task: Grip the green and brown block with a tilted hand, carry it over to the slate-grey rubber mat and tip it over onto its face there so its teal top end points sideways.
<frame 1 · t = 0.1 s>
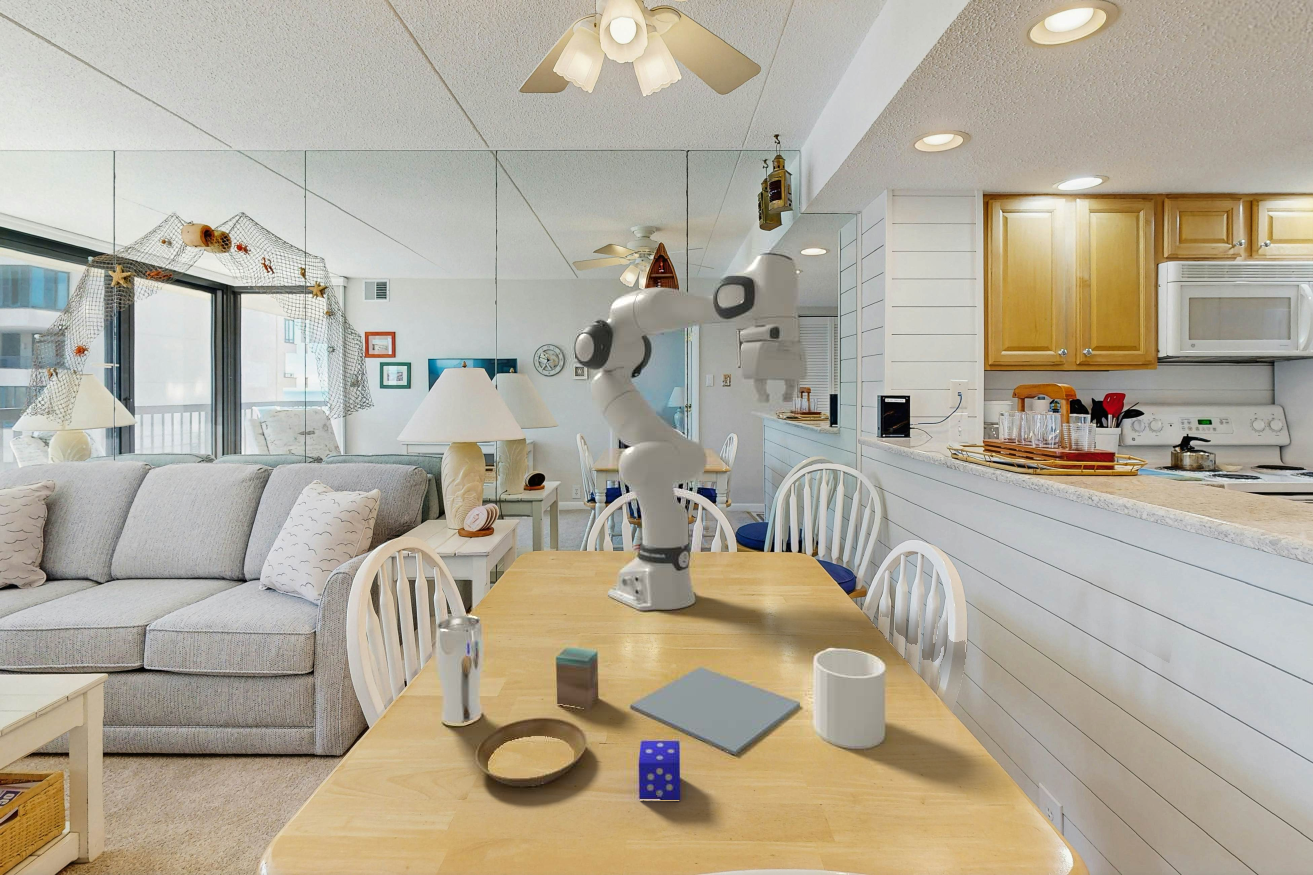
hand: (776, 402, 126), 48 cm above the table, tool pointing down, fingers open, 8 cm apart
mug: (844, 727, 92), on the table
die: (660, 790, 77), on the table
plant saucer: (532, 764, 84), on the table
slate mat: (715, 706, 98), on the table
silver metal tumbler: (462, 718, 96), on the table
green and brown block: (578, 701, 100), on the table
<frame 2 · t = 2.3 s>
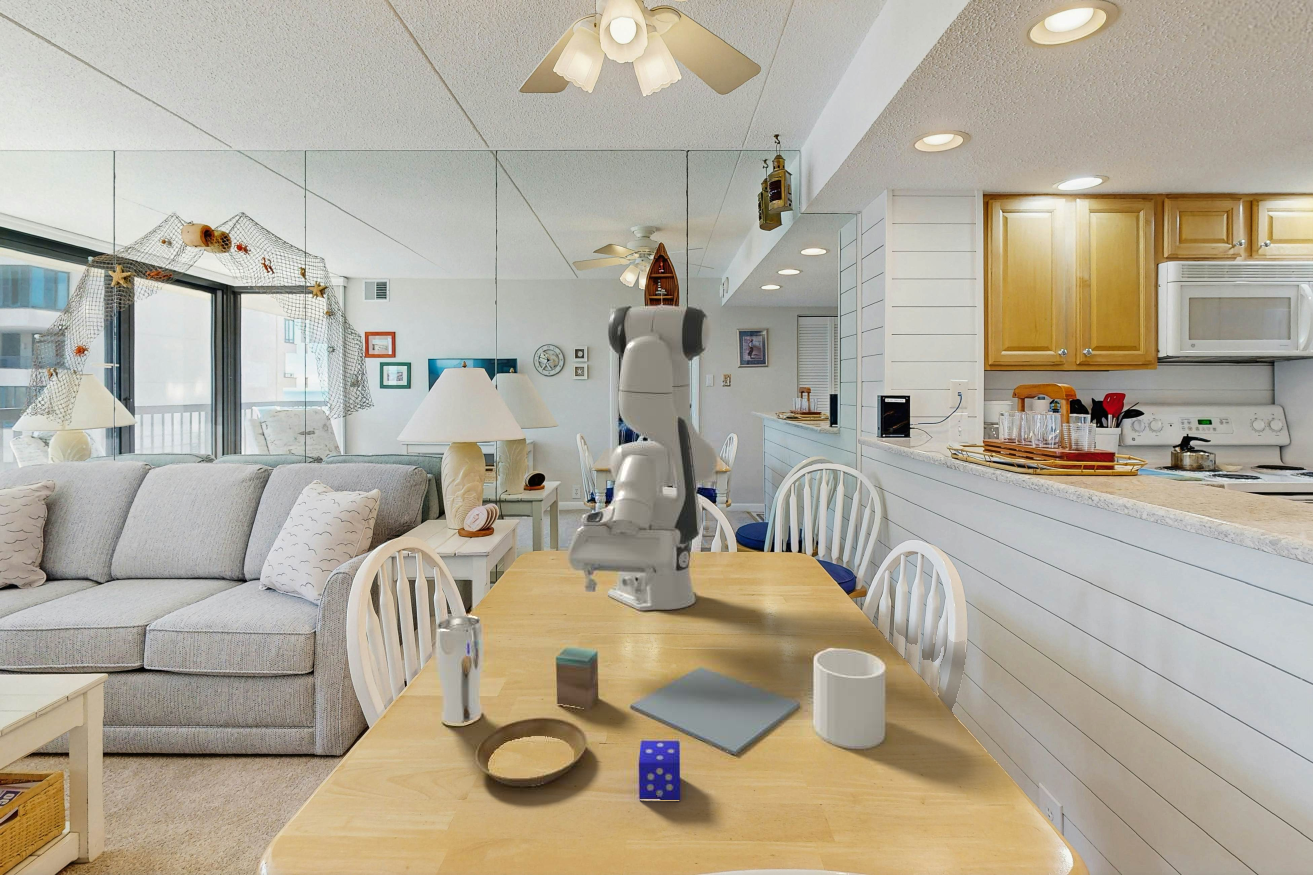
hand: (614, 591, 109), 15 cm above the table, tool tilted 45°, fingers open, 8 cm apart
nothing on the table moved.
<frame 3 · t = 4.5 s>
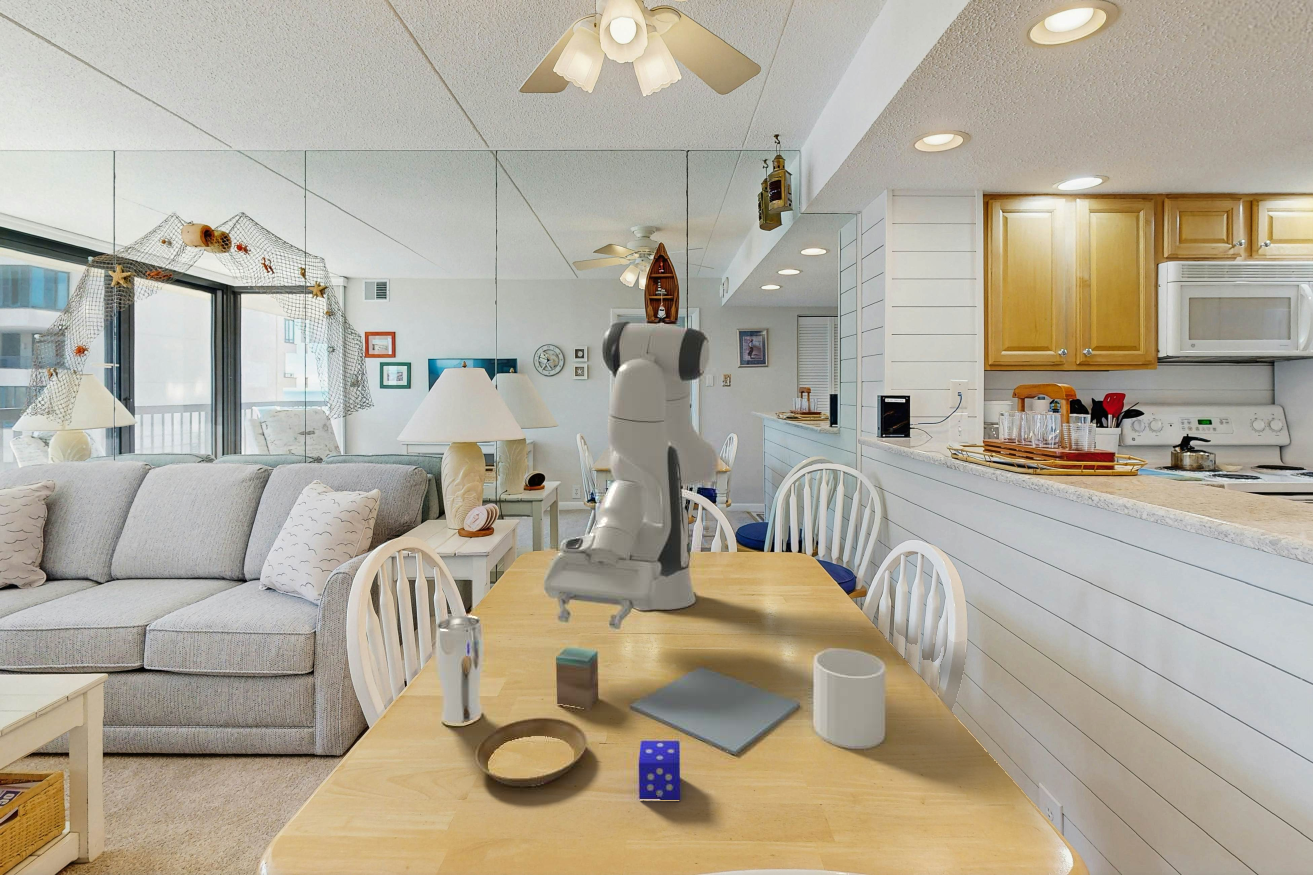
hand: (587, 623, 104), 11 cm above the table, tool tilted 45°, fingers open, 8 cm apart
nothing on the table moved.
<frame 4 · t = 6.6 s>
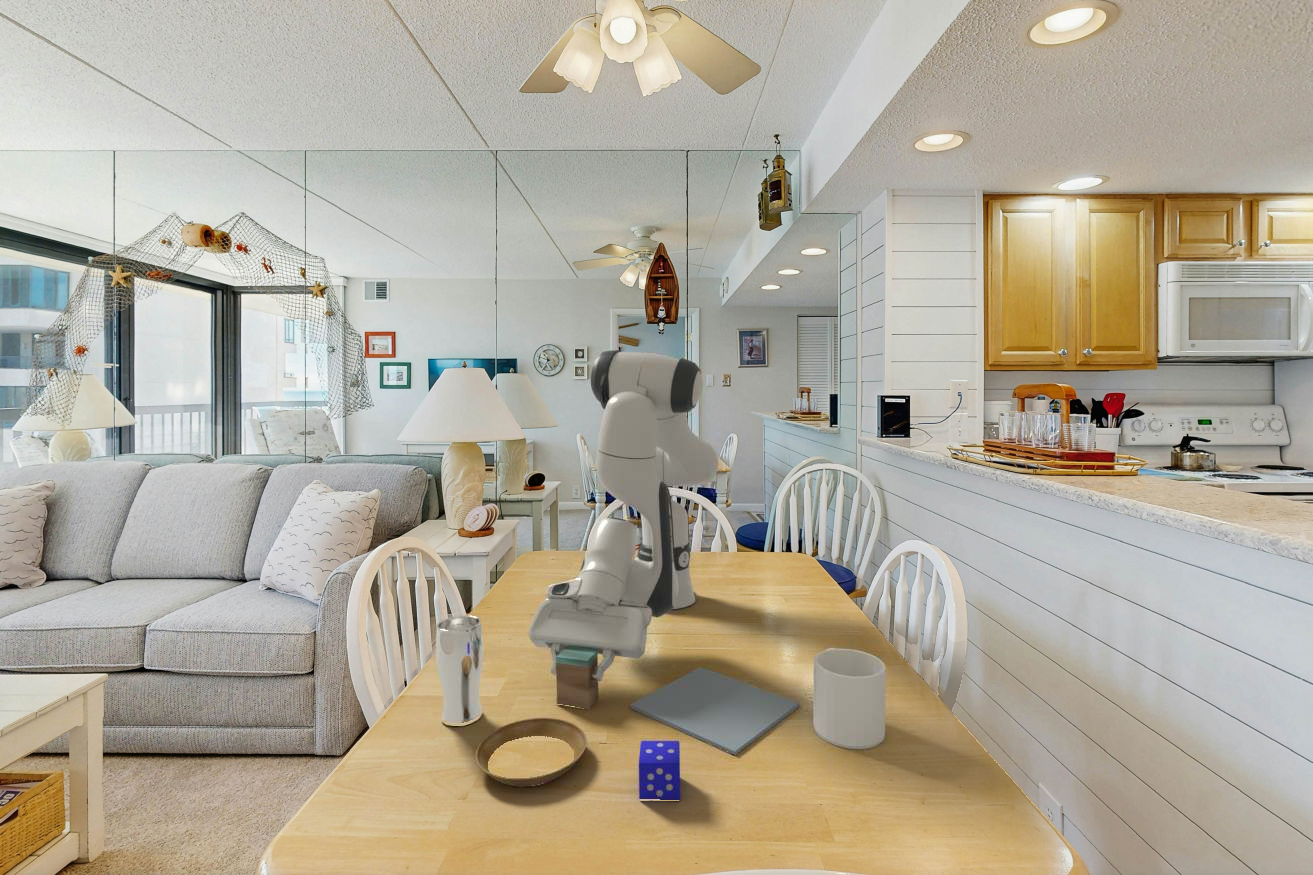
hand: (575, 676, 99), 4 cm above the table, tool tilted 45°, fingers closed on green and brown block, 5 cm apart
green and brown block: (578, 701, 100), on the table, touching gripper
everything else where it was.
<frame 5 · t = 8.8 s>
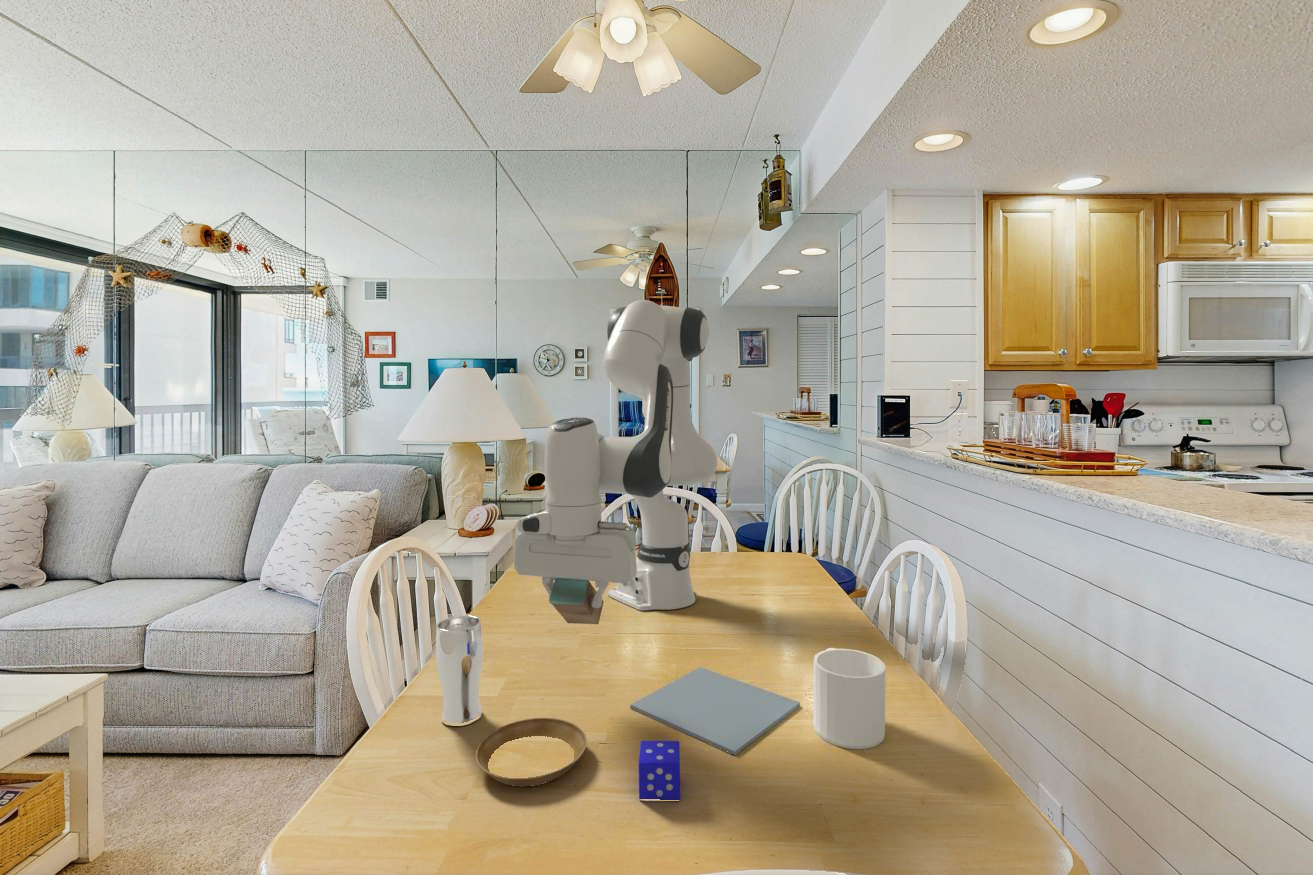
hand: (575, 604, 99), 16 cm above the table, tool pointing down, fingers closed on green and brown block, 6 cm apart
green and brown block: (585, 612, 102), point 14 cm above the table, tilted 45°, touching gripper
everything else where it was.
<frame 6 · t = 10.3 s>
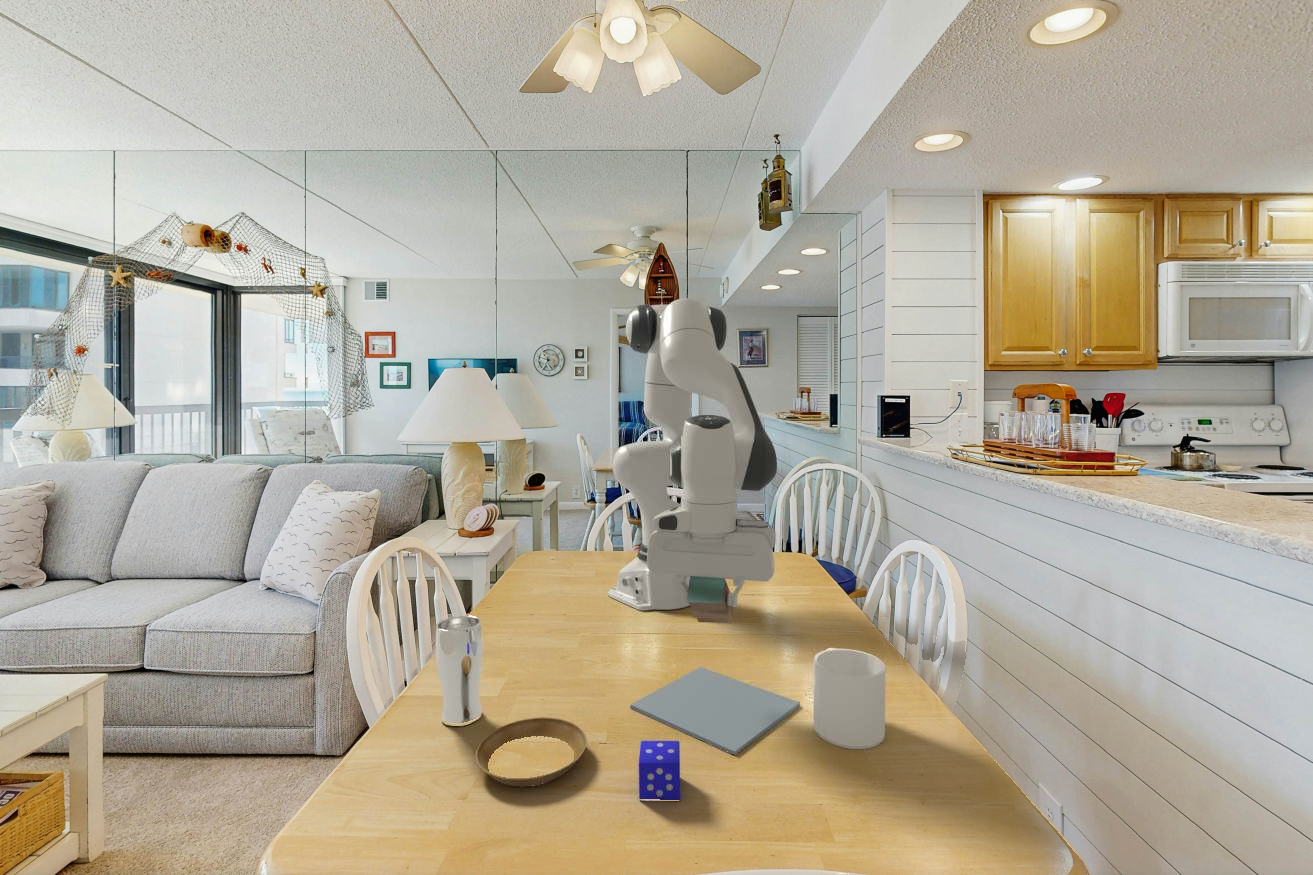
hand: (710, 603, 98), 16 cm above the table, tool pointing down, fingers closed on green and brown block, 6 cm apart
green and brown block: (716, 611, 102), point 14 cm above the table, tilted 45°, touching gripper
everything else where it was.
when the fingers open (7 cm above the table, at t = 12.7 s): green and brown block drops 2 cm and tips over, resting on slate mat.
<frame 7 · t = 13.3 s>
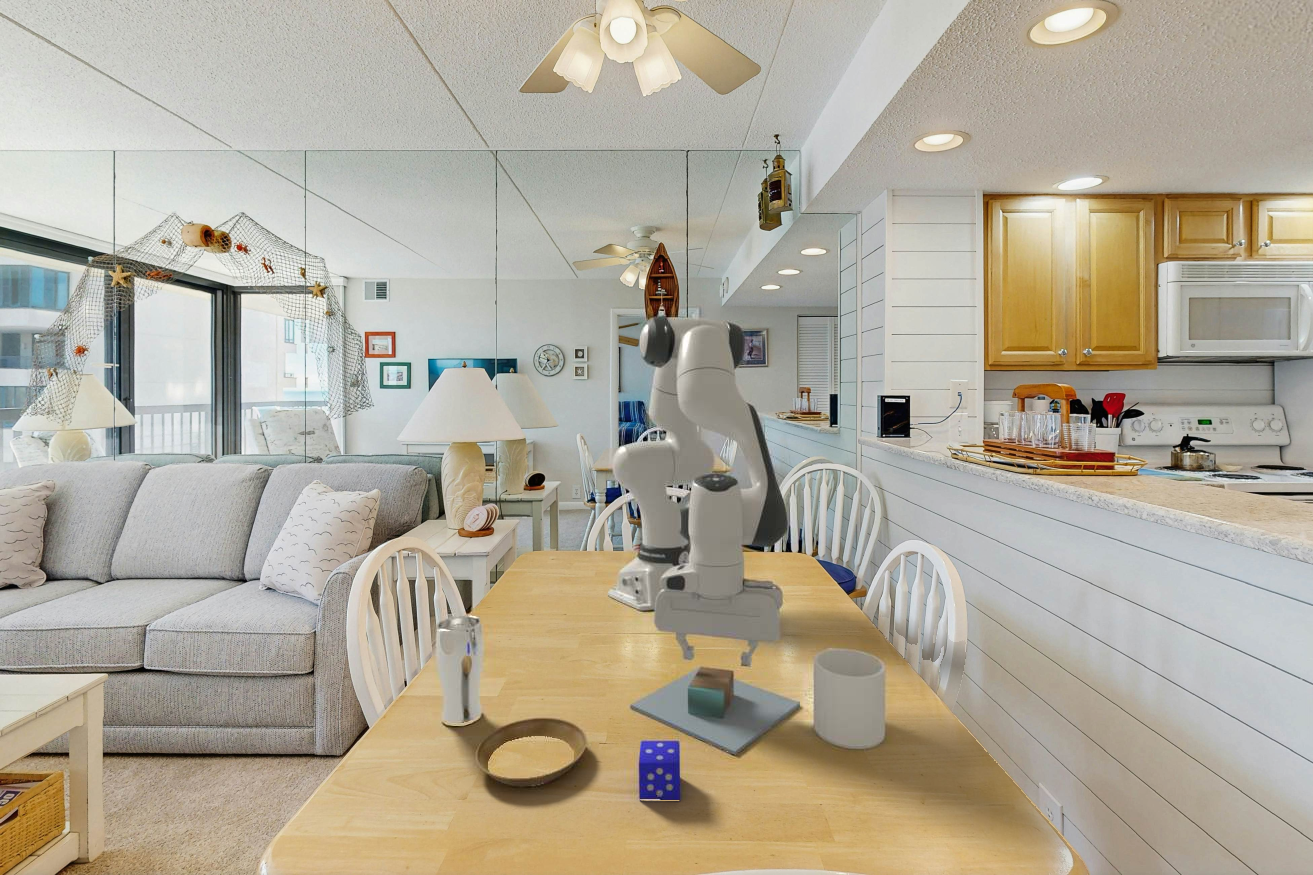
hand: (717, 661, 99), 7 cm above the table, tool pointing down, fingers open, 8 cm apart
green and brown block: (717, 680, 101), point 3 cm above the table, tilted 90°, touching slate mat
everything else where it was.
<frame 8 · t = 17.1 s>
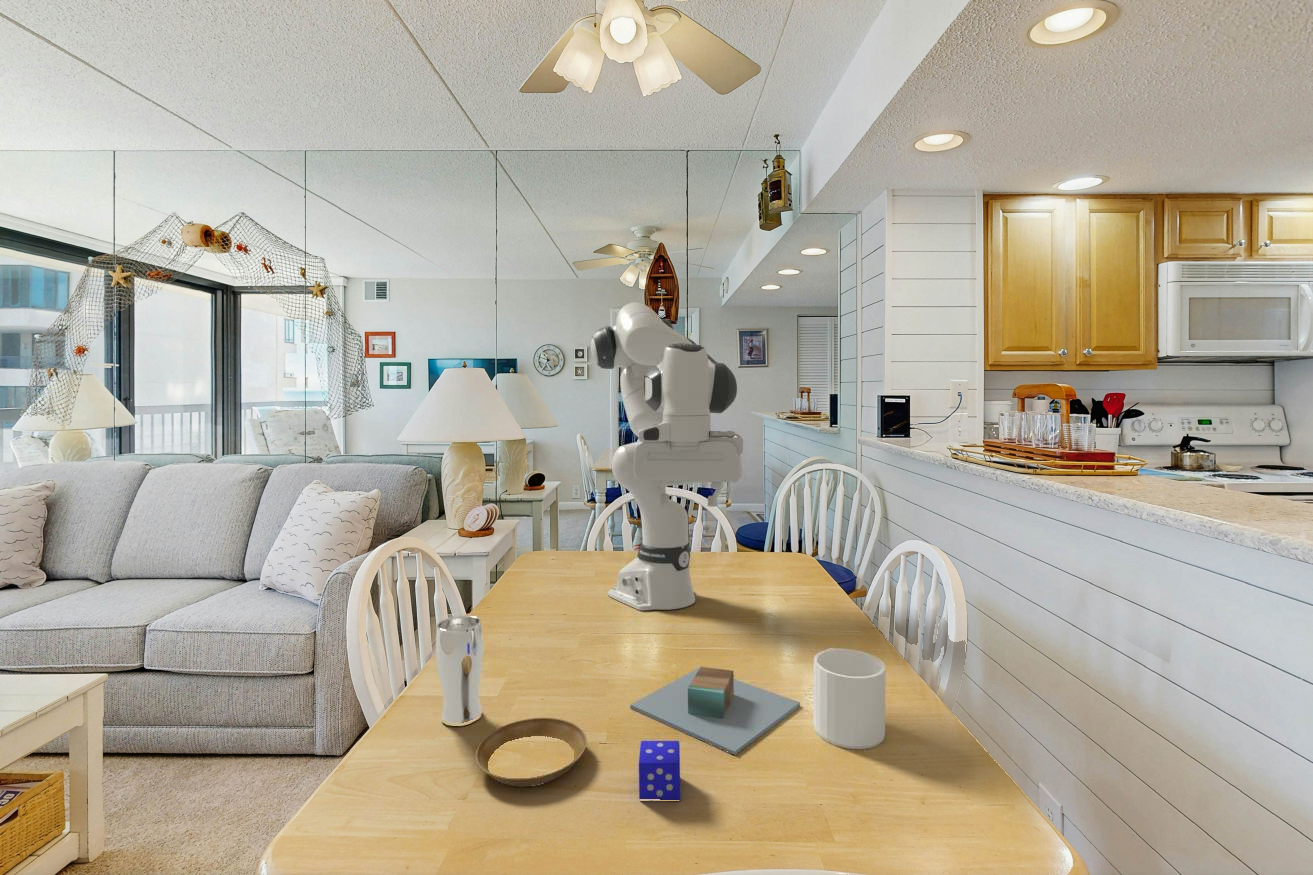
hand: (687, 505, 115), 29 cm above the table, tool pointing down, fingers open, 8 cm apart
nothing on the table moved.
at the end: green and brown block tilted 90°; green and brown block inside the target area on the slate mat (3.8 cm from its centre), point 2.6 cm above the slate mat's base; the gripper is holding nothing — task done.
